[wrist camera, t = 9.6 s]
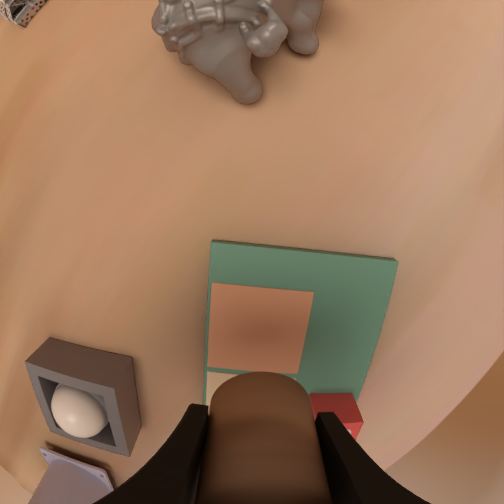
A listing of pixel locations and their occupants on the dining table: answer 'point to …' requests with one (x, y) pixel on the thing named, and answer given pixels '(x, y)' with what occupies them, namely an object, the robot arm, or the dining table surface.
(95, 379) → the grey open box
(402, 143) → the dining table surface
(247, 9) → the gray elephant figurine
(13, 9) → the house of cards
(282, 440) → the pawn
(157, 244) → the dining table surface
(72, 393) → the cream ball
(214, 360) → the game board
